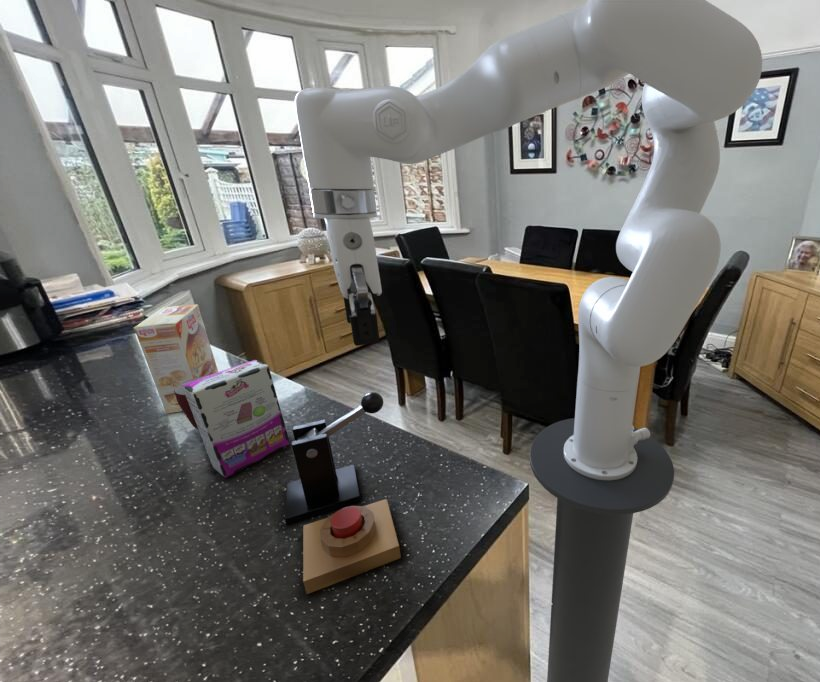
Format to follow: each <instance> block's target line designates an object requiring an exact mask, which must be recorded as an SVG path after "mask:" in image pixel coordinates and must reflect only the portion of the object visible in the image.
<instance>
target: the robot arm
mask: <svg viewBox="0 0 820 682" xmlns="http://www.w3.org/2000/svg"><path fill="white" fill-rule="evenodd" d="M762 70H763V55H762V50H761V47H760V44H759V42H758V40H757V38H756V37H755V35H754V34H753V32H752V31H751V30H750V29H749V28H748V27H747V26H746V25H745V24H743V23H742V22H741V21H739V20H738V19H736V18H735V17H733V16H732V15H730V14H728V13H727V12H726V11H724V10H722V9H721V8H719V7H717V6H716V5H714V4H712V3H711V2H709V1H708V0H587V1H586V3H584V4H582V5H580V6H578V7H576V8H573V9H571V10H568V11H566V12H563V13H560V14H558V15H557V16H554V17H551V18H549V19H547V20H545V21H542V22H539V23H537V24H535V25H532V26H529V27H527V28H524V29H521V30H519V31H518V32H515V33H511V34H509V35H507V36H505V37H502V38H499V39H498V40H496V41H494V43H492V44H490V45H489V46H488V47H487V48H486V49H485V50H484V51H483V52H482V53H481V54H480V55H479V57H477V59H476V60H475V61H474V62H473V63H472V64H471V65H470V66H469V67H468V68H467V69H466V70H464V71H463V72H462V73H461V74H459V75H458V76H457V77H455V78H454V79H452V80H451V81H448V82H447V83H445V84H443V85H441V86H439V87H437V88H435V89H431V90H430V91H427V92H425V93H423V94H420V95H418V96H416V95H414V94H413V93H412V92H411V91H409V90H407V89H405V88H402V87H399V86H394V85H384V86H383V85H381V86H375V87H369V88H361V89H353V90H344V89H338V88H330V87H309V88H303V89H301V90H299V91H298V92H297V93H296V95H295V97H294V108H295V115H296V121H297V127H298V132H299V139H300V144H301V145H300V146H301V151H302V156H303V162H304V167H305V173H306V179H307V186H308V189H309V197H310V202H311V208H312V213H313V214H312V215H313V218H314V219H319V220H324V223H325V229H326V235H327V240H328V246H329V251H330V257H331V261H332V266H333V271H334V274H335V277H336V281H337V284H338V286H339V290H340V293H341V295H342V297H343V303H344V310H345V317H346V322H347V323H348V324H350V325H351V326H350V327H351V335H352V340H353V344H354V345H355V346H356V347H359V346H364V345H366V346H367V345H372V344H377V343H380V339H381V338H380V333H379V332H380V331H379V324H378V316H377V313H376V309H375V305H374V299H373V295H374V294H375V295H376V296H378V297H379V296H381V295H382V293H383V290H382V283H381V282H382V281H381V276H380V271H379V262H378V256H377V250H376V244H375V237H374V233H373V228H372V222H371V219H374V218H377V217H378V212H377V203H376V195H375V186H374V185H375V184H374V177H373V176H374V175H373V168H372V160H371V158H375V159H376V158H377V159H383V160H388V161H393V162H397V163H400V164H404V165H415V164H419V163H423V162H425V161H427V160H430V159H433V158H435V157H437V156H440V155H443V154H444V153H448V152H449V151H453V150H455V149H457V148H459V147H462V146H464V145H466V144H469V143H471V142H474V141H476V140H478V139H481V138H483V137H485V136H488V135H491V134H494V133H497V132H500V131H503V130H506V129H508V128H510V127H513V126H514V125H517V124H519V123H521V122H524V121H527V120H529V119H531V118H533V117H536V116H539V115H542V114H544V113H545V112H548V111H550V110H552V109H555V108H557V107H560V106H563V105H565V104H567V103H570V102H572V101H576V100H578V99H580V98H583V97H586V96H588V95H591V94H593V93H596V92H598V91H600V90H603V89H605V88H608V87H610V86H612V85H614V84H617V82H619V81H621V80H622V79H624V78H625V77H626V76H628V75H631V76H633V77H634V78H635V79H638V80H639V81H640V82H642V83H644V85H643V88H642V91H641V92H642V93H641V107H642V112H643V115H644V118H645V121H646V123H647V125H648V128H649V130H650V132H651V135H652V141H653V156H652V161H651V165H650V167H649V170H648V172H647V175H646V177H645V179H644V182H643V184H642V185H641V188H640V191H639V192H638V195H637V197H636V198H635V200H634V203H633V205H632V207H631V208H630V211H629V213H628V214H627V217H626V219H625V221H624V223H623V225H622V227H621V229H620V231H619V234H618V236H617V239H616V242H615V253H616V256H617V259H618V260H619V262H620V263H621V264H622V265H623V266H624V267H625V268H626V269H627V270H628V271H630V272H632V273H631V275H630V277H629V279H626V278H623V277H618V276H606V277H605V276H604V277H602V278H599V279H597V280H596V281H594V282H592V283H591V284H590V285H589V286H588V287H586V289H585V291H584V292H583V293H582V296H581V298H580V301H579V305H578V313H577V322H578V324H577V325H578V345H579V346H578V347H579V349H578V351H579V352H578V367H577V369H578V370H577V381H576V394H575V395H576V396H575V397H576V398H575V407H574V408H575V409H574V418H575V422H574V435H573V436H571V437H570V438H569V439H568V440H567V441H566V443H565V445H564V457H565V460H566V462H567V463H568V464H569V466H570V467H571V468H573V469H574V470H575V471H577V472H578V473H580V474H582V475H584V476H586V477H589V478H593V479H597V480H618V479H621V478H624V477H626V476H628V475H630V474H631V473H632V472H633V471H634V470H635V468H636V465H637V458H638V457H637V453H636V451H635V449H634V448H633V447H634V445H636V444H637V442H638V441H642V440H644V439H647V438H649V437H650V436H651V432H650V430H649V429H648V427H642V428H638V429H639V430H637V431H635V432H633V431H634V427H635V426H634V425H633V423H634V416H635V409H636V402H637V394H638V386H639V381H640V374H641V367H645V366H646V367H647V366H648V365H651V364H653V363H655V362H657V361H658V360H660V359H661V358H662V357H663V356H664V355H666V354H667V353H668V351H669V350H670V349H671V348H672V347H673V345H674V344H675V342H676V340H678V337H679V336H680V335H681V332H682V330H684V328H685V326H686V325H687V322H688V321H689V319H690V317H691V316H692V314H693V312H694V310H695V309H696V307H697V305H698V304H699V302H700V300H701V299H702V297H703V296H704V293H705V292H706V290H707V288H708V287H709V284H710V283H711V281H712V279H713V277H714V276H715V272H716V271H717V268H718V265H719V261H720V258H721V257H720V256H721V250H722V249H721V248H722V247H721V245H722V244H721V237H720V233H719V230H718V229H717V227H716V225H715V224H714V222H712V220H710V219H709V217H707V216H705V215H704V214H701V212H702V210H703V208H704V205H705V204H706V201H707V200H708V197H709V195H710V193H711V191H712V189H713V186H714V184H715V182H716V179H717V176H718V174H719V169H720V163H721V148H720V141H719V137H718V131H717V126H716V121H719V120H721V119H725V118H726V117H729V116H731V115H732V114H734V113H735V112H737V111H738V110H739V109H741V108H742V107H743V106H744V105H745V104H746V103H747V102H748V100H749V99H750V98H751V97H752V96H753V94H754V92H755V91H756V89H757V87H758V84H759V83H760V79H761V75H762V72H763V71H762ZM372 294H373V295H372Z"/></svg>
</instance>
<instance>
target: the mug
mask: <svg viewBox="0 0 820 682" xmlns="http://www.w3.org/2000/svg"><path fill="white" fill-rule="evenodd" d="M208 376H209V375H208ZM203 377H206V376H202V377H198V378H194V379H191V380H188V381H186V382H184V383H182V384H180V385H179V386H177V387H176V388H175V390H174V393H175V396H176V399H177V402H178V404H179V406H180V407H181V409H182V411H181V412H183V414H184V416H185V417H186V418H187V420H188V421H189V422H190V424H191V425H192V427H194V428H195V429H196V430H198V431H199V429H198V427H197V424H196V421H195V419H194V416H193V413H192V411H191V408H190V405H189V403H188V400H187V398H186V395H185V393H184V390H183V387H182V385H183V384H186V383H189V382H192V381H195V380H198V379H200V378H203Z"/></svg>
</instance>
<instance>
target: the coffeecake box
mask: <svg viewBox="0 0 820 682" xmlns="http://www.w3.org/2000/svg"><path fill="white" fill-rule="evenodd" d="M133 330H134V332H135V334H136V338H137V340H138V342H139V346H140V349H141V351H142V353H143V356H144V359H145V361H146V364H147V366H148V369H149V372H150V374H151V377H152V380H153V382H154V385H155V389H156V392H157V393H158V395H159V399H160V401H161V404H162V406H163V409H164V413H165V414H166V415H168V414H173V413H179V412H183V411H182V409H181V407H180V406H179V404H178V402H177V399H176V396H175V393H174V390H175V388H176V387H177V386H179V385H180V384H182V383H184V382H186V381H188V380H191V379H194V378H198V377H202V376H208V375H212V374H215V373H218V372H219V369H218V366H217V363H216V360H215V356H214V353H213V350H212V347H211V343H210V340H209V336H208V334H207V330H206V326H205V322H204V320H203V317H202V314H201V310H200V306H199V304H197V303H196V304H184V305H182V304H181V305H175V306H174V305H173V306H162V307H161V308H160V309H158V310H157V311H155V312H154V313H153V314H151V315H150V316H148V317H147V318H145V319H144V320H142V321H141V322H140V323H138V324H137V325H135V326H134V327H133Z"/></svg>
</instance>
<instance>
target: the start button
mask: <svg viewBox="0 0 820 682" xmlns="http://www.w3.org/2000/svg"><path fill="white" fill-rule="evenodd" d="M338 510H339V511H338ZM338 510H336V511H335V512H336V513H335V512H334V513H335V514H334V513H333V514H334V515H333V514H332V515H333V517H332V519H331V526H332V530H333V534H334V535H335V536H336V537H337V538H341V539H344V538H348V537H351V536H354V535H355V534H356V533H358V532H359V531H360V529H361V528H362V525H363V521H362V516H361V512H360V510H359V509H358V508H356V507H350V506H346V507H343V508H340V509H338Z"/></svg>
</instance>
